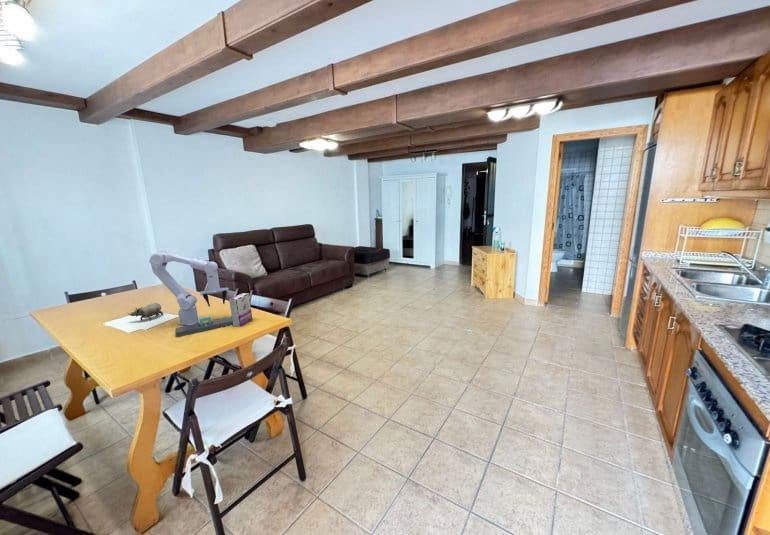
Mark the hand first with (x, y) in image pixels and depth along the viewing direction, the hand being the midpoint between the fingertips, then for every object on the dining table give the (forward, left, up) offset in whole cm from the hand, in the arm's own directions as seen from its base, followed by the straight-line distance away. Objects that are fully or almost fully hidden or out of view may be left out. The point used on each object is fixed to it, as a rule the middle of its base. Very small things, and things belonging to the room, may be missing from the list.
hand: (216, 304), depth 176 cm
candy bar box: (+18, 0, -10) cm, 20 cm away
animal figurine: (-43, -11, -10) cm, 46 cm away
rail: (+4, -12, -9) cm, 16 cm away
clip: (+4, -12, -9) cm, 16 cm away
